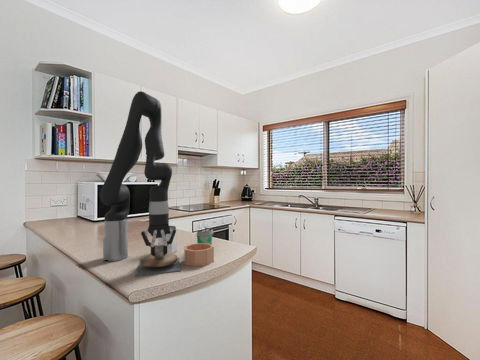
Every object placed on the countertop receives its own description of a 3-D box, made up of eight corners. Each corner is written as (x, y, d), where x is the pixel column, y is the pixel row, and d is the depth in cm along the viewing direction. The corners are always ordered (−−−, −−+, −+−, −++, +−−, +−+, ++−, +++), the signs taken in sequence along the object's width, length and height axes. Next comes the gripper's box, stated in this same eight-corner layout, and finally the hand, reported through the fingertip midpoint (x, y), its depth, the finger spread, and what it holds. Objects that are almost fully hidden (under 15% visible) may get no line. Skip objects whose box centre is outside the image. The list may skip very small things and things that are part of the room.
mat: (135, 276, 86) (135, 275, 86) (140, 262, 102) (140, 261, 102) (180, 271, 91) (180, 270, 91) (179, 258, 106) (179, 257, 106)
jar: (156, 254, 112) (156, 229, 112) (158, 250, 120) (158, 226, 120) (176, 253, 114) (176, 228, 114) (177, 248, 122) (177, 225, 122)
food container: (209, 253, 113) (208, 232, 113) (196, 253, 114) (196, 232, 114) (216, 246, 125) (216, 227, 125) (205, 246, 126) (205, 227, 126)
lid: (138, 269, 88) (138, 252, 88) (142, 257, 101) (142, 242, 101) (177, 264, 92) (177, 248, 92) (176, 254, 105) (176, 240, 105)
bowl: (185, 267, 95) (185, 251, 95) (183, 258, 107) (183, 244, 107) (215, 263, 99) (215, 249, 99) (210, 255, 110) (210, 242, 110)
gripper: (138, 214, 91) (139, 260, 91) (177, 212, 95) (177, 256, 95) (140, 212, 98) (141, 254, 98) (176, 210, 102) (177, 251, 102)
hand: (159, 255), depth 96 cm, fingers closed on lid, 3 cm apart
